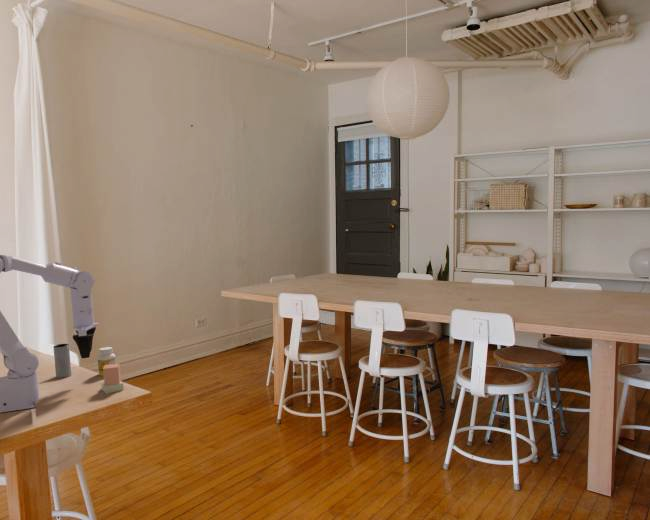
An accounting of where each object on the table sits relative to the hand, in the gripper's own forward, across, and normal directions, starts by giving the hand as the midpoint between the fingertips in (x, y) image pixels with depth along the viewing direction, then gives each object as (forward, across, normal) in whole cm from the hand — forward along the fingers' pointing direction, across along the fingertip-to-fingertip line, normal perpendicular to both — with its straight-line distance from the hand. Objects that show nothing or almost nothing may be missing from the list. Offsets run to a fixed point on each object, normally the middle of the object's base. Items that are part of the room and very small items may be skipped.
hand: (86, 354), depth 161 cm
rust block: (+7, -9, -7) cm, 14 cm away
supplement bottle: (+11, +9, -5) cm, 15 cm away
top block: (+9, -9, -7) cm, 15 cm away
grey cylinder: (+11, +18, +9) cm, 23 cm away
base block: (+11, -9, -7) cm, 16 cm away
